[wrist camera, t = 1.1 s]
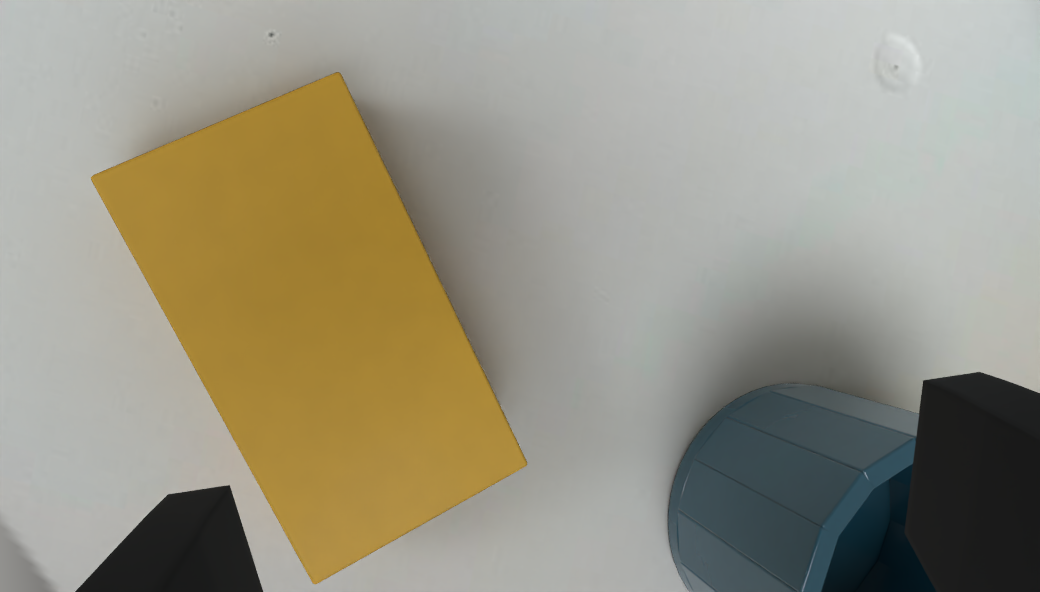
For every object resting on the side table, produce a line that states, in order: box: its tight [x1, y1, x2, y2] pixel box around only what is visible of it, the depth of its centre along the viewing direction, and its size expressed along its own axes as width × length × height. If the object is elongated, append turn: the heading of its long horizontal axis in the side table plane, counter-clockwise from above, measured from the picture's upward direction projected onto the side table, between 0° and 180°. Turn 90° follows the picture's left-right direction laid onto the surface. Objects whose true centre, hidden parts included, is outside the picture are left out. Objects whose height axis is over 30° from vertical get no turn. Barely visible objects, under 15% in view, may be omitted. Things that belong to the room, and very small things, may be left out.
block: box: [91, 72, 527, 584], centre depth 18 cm, size 9×5×3 cm, turn 25°
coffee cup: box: [668, 383, 937, 592], centre depth 20 cm, size 7×7×6 cm
